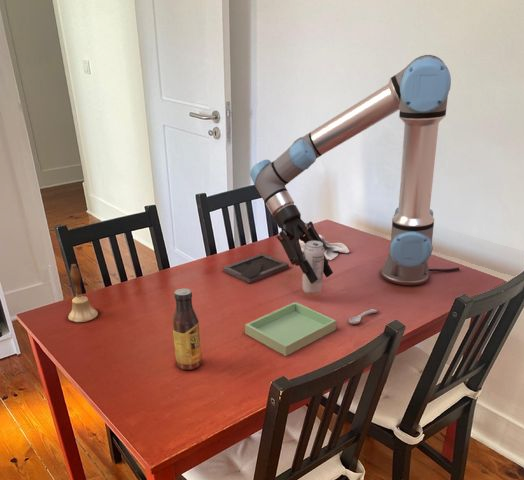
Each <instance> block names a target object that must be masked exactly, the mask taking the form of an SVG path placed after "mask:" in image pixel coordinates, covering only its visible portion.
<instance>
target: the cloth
mask: <svg viewBox="0 0 524 480" xmlns="http://www.w3.org/2000/svg"><path fill="white" fill-rule="evenodd" d="M318 235H319V236H320V238H321V240H322V241H323V243H324V244H325V246H326V248H327V250H326V251H325V252H324V255H325V257H326V259H327V260H328V261H332V260H334V259H335V258H337V257H338V255H339V253H341V254H349V253H350V252H351V251H350V249H349V248H348V247H347V245H346V244H345V243H344V242H329V241H327V240H326V239H325V237H324V236H323V235H322V234H318ZM299 243H300V246H301V250H302V253H303V254H304V248H305V246H306V244H305V243H304V242H303V241H301V240H300V239H299Z"/></svg>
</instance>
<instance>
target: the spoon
mask: <svg viewBox="0 0 524 480" xmlns="http://www.w3.org/2000/svg"><path fill="white" fill-rule="evenodd" d="M377 313H378V310H377V309H375V308H370V309H368V310H365V311H363V312H361V313H360V314H358V315H355V316H350V317H349V319H348V323H349V324H351V325H358V324H360V323H361V321H362V318H363V317H365V316H367V315H371V314H377Z"/></svg>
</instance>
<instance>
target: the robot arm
mask: <svg viewBox="0 0 524 480" xmlns="http://www.w3.org/2000/svg"><path fill="white" fill-rule="evenodd" d="M451 85H452V77H451V73H450V70H449V68H448V66H447V65H446V63H445V62H444V61H443V60H442V59H441V58H440V57H438V56H436V55H433V54H424V55H421V56H420V55H419V56H418V57H416V58H415V59H413V60H411V62H410V63H408V64H407V65H406V66H405V67H404V68H403V69H401V70H400V71H398V72H397V73H396V74H394V75H392V76H391V77H390V78H389V80H388V83H387V84H386V85H384V86H382V87H381V88H379V89H378V90H376V91H374V92H373V93H371V94H369V95H368V96H366V97H364V98H363V99H362V100H359V101H358V102H357V103H355V104H353V105H352V106H350V107H349V108H347V109H345V110H344V111H342V112H341V113H339V114H337V115H336V116H334V117H332V118H331V119H329V120H328V121H326V122H324V123H323V124H321V125H319V126H318V127H316V128H315V129H313V130H311V131H310V132H309V133H307V134H305V135H303V136H300V137H299V138H296V140H294V141H293V143H292V144H291V145H289V147H288V148H287V149H286V150H285V151H284V152H283V153H282V154H280V155H279V156H278V157H277V158H276V159H275V160H273V161H271V159H263V160H261V161H259V162H256V163H255V164H254V165H253V166H252V167H251V169H250V171H249V177H250V178H251V181H252V182H253V185H254V187H255V188H256V190H257V191H258V193H259V195H260V197H261V198H262V200H263V202H264V204H265V205H266V207H267V209H268V211H269V213H270V214H271V216H272V217H273V221H274V222H275V223H276V225H277V227H278V229H281V231H279V232H278V233H277V235H276V237H275V238H276V239H277V240H278V241H279V242H280V244H281V246H282V248H283V250H284V252H285V254H286V256H287V258H288V260H289V262H290V264H291V265H292V266H293V265H295V266H296V267H298V266H299V268H300V270H301V271H302V274H303V273H304V274H306V276H307V278H308V279H309V281H310V283H311V284H312V283H314V282H315V281H317V280H318V278H317V277H316V275H315V273H314V271H313V269H312V268H311V266H310V264H309V262H308V261H307V260H305V261H304V253H302V250H301V246H300V243H299V239H300V240H301V241H303V242H304V243H305V244H306V243H307V242H308V241H320V242H322V243H323V241H322V240H321V238H320V236H319V235H320V234H319V233H318V232H317V230H316V228H315V226H314V223H313V221H311V220H310V221H309V222H305V221H303V219H302V217H301V216H302V214H301V212H300V211H299V208H298V206H297V205H296V204H295V201H294V199H293V198H292V196H291V194H290V193H289V191H288V189H287V187H286V186H287V185H288V184H289V183H290V182H292V181H293V180H294V179H295V178H297V177H298V176H300V175H301V174H302V173H303V172H305V171H306V170H308V169H309V168H310V167H311V166H312V165H314V163H316V161H317V159H318V158H320V157H321V156H323V155H324V154H326V153H328V152H330V151H331V150H333V149H335V148H336V147H338V146H340V145H342V144H344V143H345V142H347V141H349V140H351V139H352V138H354V137H356V136H357V135H359V134H361V133H362V132H364V131H366V130H367V129H369V128H370V127H372V126H374V125H377V123H379V122H381V121H383V120H385V119H386V118H388V117H389V116H392V115H394V114H395V113H397V112H399V114H398V115H399V116H398V117H399V119H400V120H401V121H402V122H403V124H404V128H403V141H402V155H401V168H400V171H401V172H400V183H399V196H398V197H399V198H398V207H397V208H396V209H395V211H394V215H393V217H392V219H391V220H392V222H391V235H390V244H389V253H388V255H387V256H386V259H385V261H384V263H383V265H382V267H381V273H380V276H381V277H382V279H383V280H385V281H386V282H388V283H390V284H394V285H398V286H403V287H414V286H421V285H424V284H426V283H427V282H428V281H429V279H430V272H438V273H439V272H440V273H441V272H443V273H444V272H445V273H446V272H454V271H455V272H456V271H460V267H453V268H452V267H451V268H429V264H428V260H429V259H430V258H431V255H432V253H433V248H434V247H433V246H434V245H433V234H434V226H435V217H434V211H433V210H432V209H431V201H432V193H433V192H432V191H433V183H434V174H435V173H434V172H435V162H436V154H437V153H436V152H437V144H438V143H437V142H438V133H439V125H440V122H441V121H442V120H443V119H445V117H446V116H447V115H446V114H447V105H448V97H449V93H450V90H451ZM323 247H324V249H325V251H326V250H327V248H326V246H325V244H324V243H323ZM332 274H334V272H333V270H332V268H331V266H330V265H329V260H328V259H326V257H325V255H324V268H323V275H324V276H325V278H328V277H330V276H331V275H332Z"/></svg>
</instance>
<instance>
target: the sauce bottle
mask: <svg viewBox="0 0 524 480" xmlns="http://www.w3.org/2000/svg"><path fill="white" fill-rule="evenodd" d="M173 293H174V295H173V296H174V300H175V309H176V310H175V311H174V313H173V315H172V333H173V343H174V353H175V360H176V365H177V368H179V369H180V370H185V371H192V370H195V369H197V368H198V367H200V366H201V364H202V349H201V334H200V323H199V321H200V320H199V318H198V316H197V314H196V312H195V310H194V307H193V306H194V305H193V301H192V299H193V291H192V290H191V289H190V288H186V287H183V288H177V289H176V290H174V292H173Z"/></svg>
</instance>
